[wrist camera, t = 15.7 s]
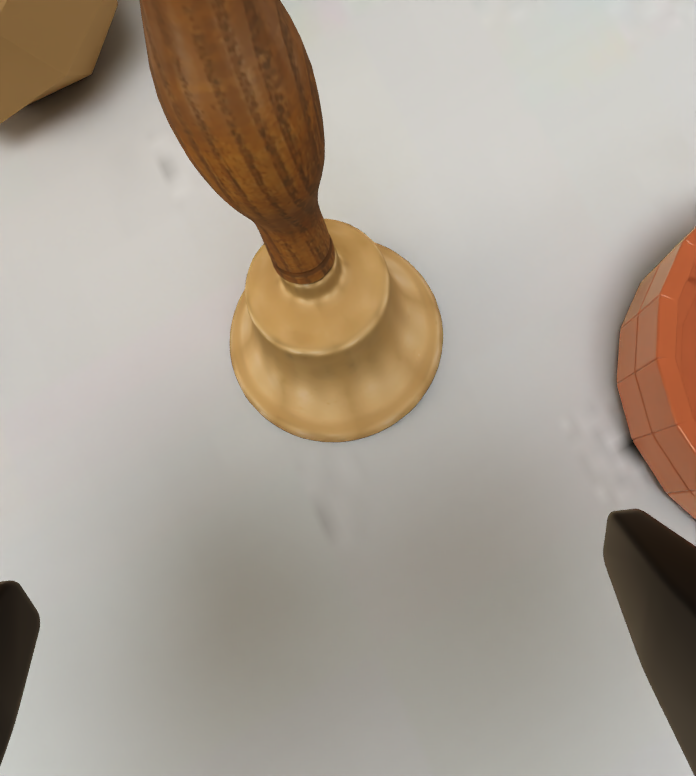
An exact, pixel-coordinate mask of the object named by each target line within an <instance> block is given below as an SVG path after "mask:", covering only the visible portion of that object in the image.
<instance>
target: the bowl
mask: <svg viewBox="0 0 696 776" xmlns="http://www.w3.org/2000/svg"><path fill="white" fill-rule="evenodd" d="M617 383H618V384H617V387H618V391H619V394H620V398H621V402H622V405H623V409H624V413H625V416H626V420H627V424H628V428H629V431H630V435H631V439H632V440H633V442H634V444H635V445H636V447H637V448H638V450H639V452H640V453H641V455H642V456H643V458H644V459H645V461H646V463H647V464H648V466H649V467H650V469H651V470H652V472H653V473H654V475H655V477H656V478H657V480H658V481H659V483H660V484H661V486H662V488H663V489H664V491H665V492H666V493H668V496H670V497H671V498H672V499H673V500H674V501H675V502H676V503H677V504H679V505H680V506H681V507H682V508H683V509H684V510H685V511H687V512H688V513H689V514H690V515H691V516H692V517H693V518H695V519H696V226H695V227H694V228H693V229H692V230H691V231H690V232H689V233H688V234H687V235H686V236H685V237H684V238H683V239H682V240H681V241H680V242H679V243H678V244H677V245H676V246H675V247H674V248H673V249H672V250H671V251H670V252H669V253H668V254H667V255H666V256H665V257H664V258H663V259H662V260H661V262H660V263H659V264H658V265H657V266H656V267H655V268H654V269H653V270H652V271H651V272H650V273H649V274H648V275H647V276H646V277H645V278H644V279H643V281H642V282H641V283H640V285H639V287H638V290H637V292H636V294H635V296H634V299H633V301H632V303H631V305H630V308H629V310H628V312H627V314H626V317H625V319H624V321H623V323H622V326H621V329H620V337H619V352H618V367H617Z"/></svg>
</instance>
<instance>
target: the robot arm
mask: <svg viewBox="0 0 696 776" xmlns="http://www.w3.org/2000/svg"><path fill="white" fill-rule="evenodd" d="M603 556H604V562H605V566H606V569H607V572H608V574H609V577H610V580H611V583H612V585H613V588H614V591H615V594H616V597H617V599H618V602H619V605H620V608H621V610H622V613H623V616H624V619H625V622H626V624H627V627H628V630H629V633H630V635H631V638H632V641H633V644H634V647H635V649H636V652H637V655H638V657H639V660H640V662H641V665H642V667H643V670H644V672H645V674H646V676H647V678H648V681H649V683H650V685H651V687H652V689H653V691H654V693H655V695H656V697H657V699H658V701H659V704H660V706H661V708H662V710H663V712H664V714H665V716H666V718H667V720H668V722H669V724H670V726H671V728H672V730H673V732H674V734H675V737H676V739H677V741H678V743H679V745H680V747H681V749H682V751H683V753H684V755H685V757H686V759H687V761H688V763H689V765H690V767H691V769H692V772H693V774H694V776H696V546H694V545H693V544H691V543H690V542H688V541H687V540H685V539H684V538H682V537H681V536H679V535H678V534H676V533H675V532H673V531H672V530H671V529H669V528H668V527H666V526H665V525H663V524H662V523H660V522H659V521H657V520H656V519H654V518H653V517H651V516H650V515H648V514H647V513H646V512H644V511H642V510H639V509H628V510H620V511H613V512H611V513H610V514H609V516H608V519H607V526H606V533H605V540H604V548H603ZM39 629H40V617H39V613H38V611H37V610H36V608H35V607H34V605H33V604H32V602H31V601H30V599H29V598H28V596H27V595H26V593H25V592H24V590H23V588H22V587H21V586H20V584H19V583H17V582H15V581H2V582H0V765H1V762H2V760H3V757H4V754H5V751H6V749H7V746H8V743H9V740H10V737H11V734H12V731H13V728H14V724H15V721H16V717H17V714H18V710H19V706H20V702H21V699H22V695H23V691H24V687H25V683H26V679H27V676H28V672H29V668H30V664H31V660H32V656H33V652H34V649H35V645H36V641H37V637H38V633H39Z"/></svg>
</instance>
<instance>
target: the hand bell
mask: <svg viewBox="0 0 696 776" xmlns="http://www.w3.org/2000/svg"><path fill="white" fill-rule="evenodd" d="M140 7H141V14H142V21H143V28H144V34H145V41H146V47H147V54H148V60H149V67H150V71H151V74H152V78H153V82H154V85H155V89H156V92H157V96H158V99H159V101H160V104H161V106H162V109H163V111H164V114H165V116H166V118H167V120H168V122H169V124H170V127H171V128H172V130H173V132H174V134H175V135H176V137H177V139H178V141H179V143H180V144H181V146H182V148H183V149H184V151H185V153H186V155H187V156H188V158H189V160H190V161H191V162H192V164H193V165H194V166H195V168H196V169H197V170H198V172H199V173H200V174H201V175H202V177H203V178H204V179H205V180H206V181H207V183H208V184H209V185H210V186H211V187H212V188H213V189H214V191H215V192H216V193H217V194H218V195H219V196H220V197H221V198H222V199H224V200H225V201H226V202H227V203H228V204H229V205H230V206H232V207H233V208H234V209H235V210H237V211H238V212H240V213H241V214H243V215H244V216H246V217H247V218H249V219H250V220H252V221H253V222H254V223H255V224H256V226H257V228H258V230H259V232H260V234H261V237H262V239H263V242H264V244H263V245H262V247H261V248H260V249H259V251H258V252H257V253H256V255H255V256H254V258H253V260H252V262H251V265H250V268H249V271H248V274H247V278H246V286H245V290H244V292H243V293H242V295H241V297H240V299H239V301H238V304H237V307H236V310H235V312H234V316H233V320H232V325H231V331H230V354H231V360H232V366H233V369H234V372H235V376H236V378H237V380H238V383H239V385H240V387H241V388H242V390H243V392H244V394H245V396H246V398H247V399H248V400H249V402H250V403H251V404H252V405H253V406H254V407H255V408H256V409H257V411H258V412H259V413H260V414H261V415H262V416H263V417H265V418H266V419H267V420H269V421H270V422H271V423H273V424H274V425H276V426H277V427H279V428H281V429H282V430H284V431H286V432H289V433H291V434H293V435H296V436H299V437H301V438H305V439H310V440H314V441H322V442H345V441H351V440H357V439H361V438H365V437H368V436H371V435H373V434H376V433H378V432H380V431H382V430H384V429H386V428H388V427H390V426H392V425H393V424H395V423H396V422H398V421H399V420H400V419H401V418H403V417H404V416H405V415H407V414H408V413H409V412H410V411H411V410H412V409H413V408H414V407H415V406H416V405H417V403H418V402H419V401H420V400H421V399H422V397H423V395H424V394H425V393H426V391H427V389H428V388H429V386H430V384H431V382H432V380H433V378H434V376H435V374H436V371H437V368H438V365H439V361H440V358H441V353H442V344H443V328H442V321H441V315H440V312H439V309H438V305H437V302H436V300H435V297H434V295H433V293H432V291H431V289H430V287H429V286H428V284H427V283H426V281H425V279H424V278H423V277H422V275H421V274H420V273H419V272H418V271H417V270H416V269H415V268H414V267H413V266H412V265H411V264H410V263H409V262H408V261H407V260H406V259H404V258H403V257H401V256H400V255H399V254H397V253H396V252H394V251H392V250H391V249H389V248H387V247H384V246H382V245H380V244H377V243H375V242H373V241H372V240H371V239H370V238H369V237H368V236H367V235H366V234H365V233H363V232H362V231H360V230H359V229H357V228H355V227H353V226H351V225H349V224H346V223H344V222H340V221H337V220H331V219H323V216H322V214H321V211H320V208H319V205H318V188H319V184H320V180H321V176H322V171H323V166H324V158H325V139H324V128H323V119H322V112H321V106H320V100H319V94H318V90H317V86H316V82H315V77H314V73H313V69H312V65H311V63H310V60H309V58H308V55H307V53H306V50H305V47H304V45H303V42H302V40H301V37H300V35H299V33H298V31H297V29H296V27H295V25H294V23H293V21H292V19H291V17H290V15H289V14H288V12H287V11H286V9H285V7H284V6H283V4H282V3H281V1H280V0H140Z"/></svg>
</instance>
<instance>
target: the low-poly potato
mask: <svg viewBox="0 0 696 776" xmlns="http://www.w3.org/2000/svg"><path fill="white" fill-rule="evenodd" d="M117 6H118V2H117V0H0V124H1V123H2V122H4V121H5V120H7V119H8V118H9V117H11V116H12V115H14V114H15V113H17V112H18V111H20V110H21V109H23V108H24V107H25V106H27V105H29V104H31V103H33V102H35V101H37V100H39V99H42V98H44V97H46V96H48V95H50V94H52V93H54V92H56V91H58V90H60V89H62V88H64V87H66V86H68V85H71V84H73V83H75V82H77V81H79V80H81V79H83V78H85V77H87V76H89V75H91V74H92V72H93V70H94V67H95V64H96V62H97V59H98V56H99V54H100V51H101V48H102V46H103V43H104V40H105V38H106V35H107V33H108V30H109V27H110V25H111V22H112V19H113V17H114V14H115V11H116V9H117Z"/></svg>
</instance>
